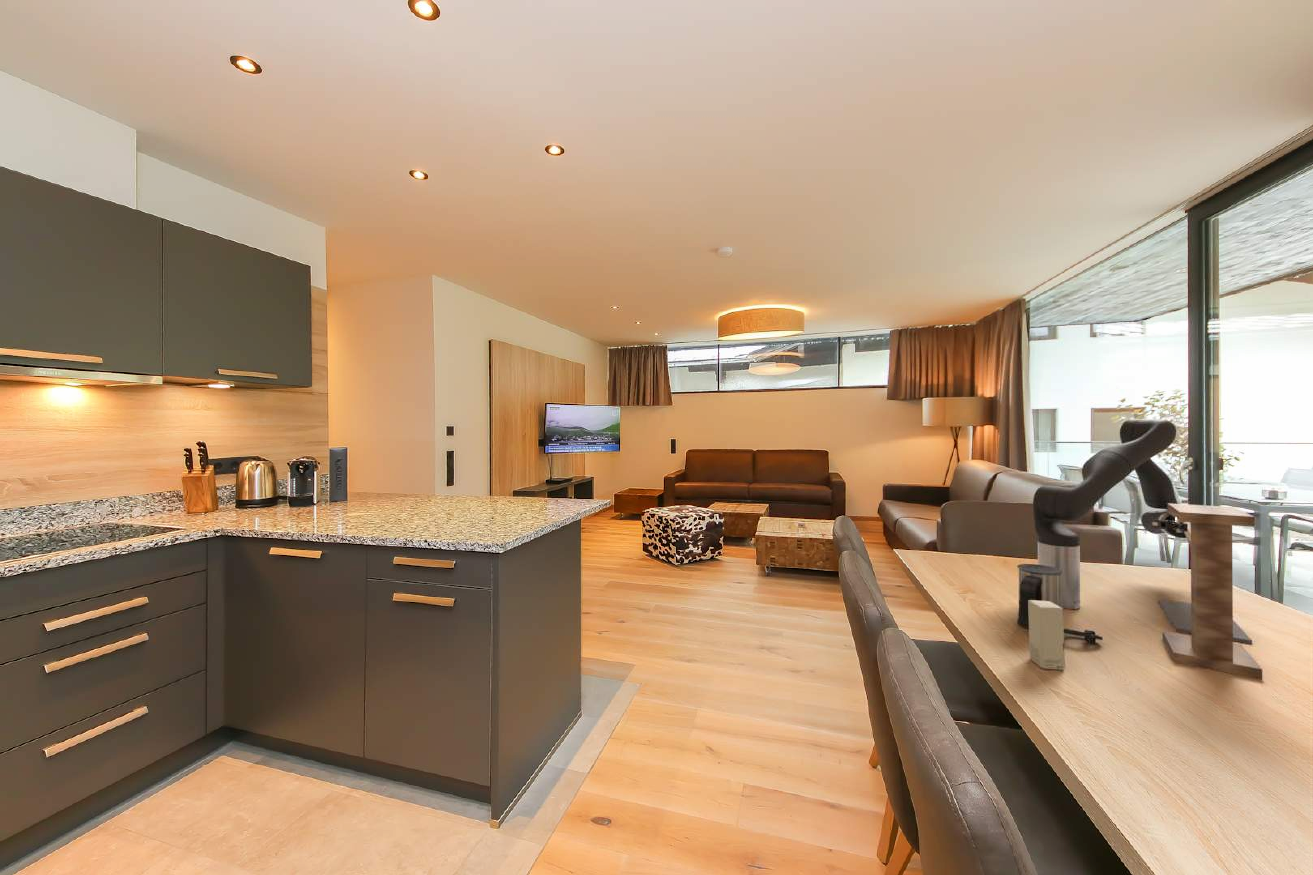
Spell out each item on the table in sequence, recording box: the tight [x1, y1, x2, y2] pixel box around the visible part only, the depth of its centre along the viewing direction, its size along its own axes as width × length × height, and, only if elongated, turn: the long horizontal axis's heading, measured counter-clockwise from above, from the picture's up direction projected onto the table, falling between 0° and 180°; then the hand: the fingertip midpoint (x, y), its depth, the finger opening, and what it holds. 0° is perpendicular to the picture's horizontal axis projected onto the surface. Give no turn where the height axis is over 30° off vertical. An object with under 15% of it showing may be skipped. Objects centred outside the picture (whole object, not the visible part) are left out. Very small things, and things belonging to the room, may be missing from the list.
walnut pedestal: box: [1162, 503, 1263, 680], centre depth 104 cm, size 12×15×32 cm
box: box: [1028, 600, 1066, 671], centre depth 103 cm, size 5×4×13 cm
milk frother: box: [1016, 563, 1104, 643], centre depth 119 cm, size 14×16×15 cm
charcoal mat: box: [1157, 598, 1253, 645], centre depth 125 cm, size 12×26×1 cm, turn 141°
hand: (1195, 527), depth 128 cm, fingers closed on birch bar, 3 cm apart
